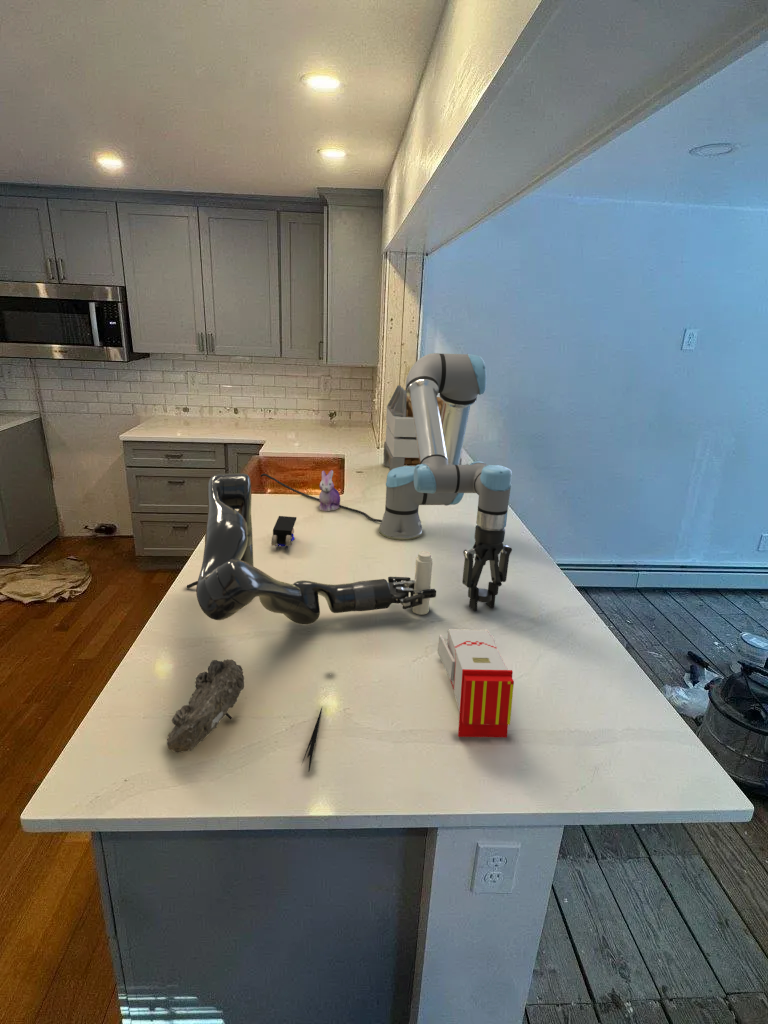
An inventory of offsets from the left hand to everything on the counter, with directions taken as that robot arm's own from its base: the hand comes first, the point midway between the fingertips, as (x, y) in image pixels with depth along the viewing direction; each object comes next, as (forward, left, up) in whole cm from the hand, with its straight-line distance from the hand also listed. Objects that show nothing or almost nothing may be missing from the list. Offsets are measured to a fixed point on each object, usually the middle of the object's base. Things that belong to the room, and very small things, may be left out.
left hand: (431, 588), depth 148 cm
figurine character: (-50, +33, -6) cm, 60 cm away
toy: (+10, -33, -6) cm, 35 cm away
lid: (+14, +4, -2) cm, 14 cm away
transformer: (-13, +132, -6) cm, 132 cm away
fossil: (-38, -50, -6) cm, 64 cm away
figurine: (-44, +71, -6) cm, 84 cm away
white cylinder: (-2, -1, -6) cm, 7 cm away
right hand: (+14, +4, -6) cm, 15 cm away
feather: (-18, -47, -6) cm, 51 cm away
